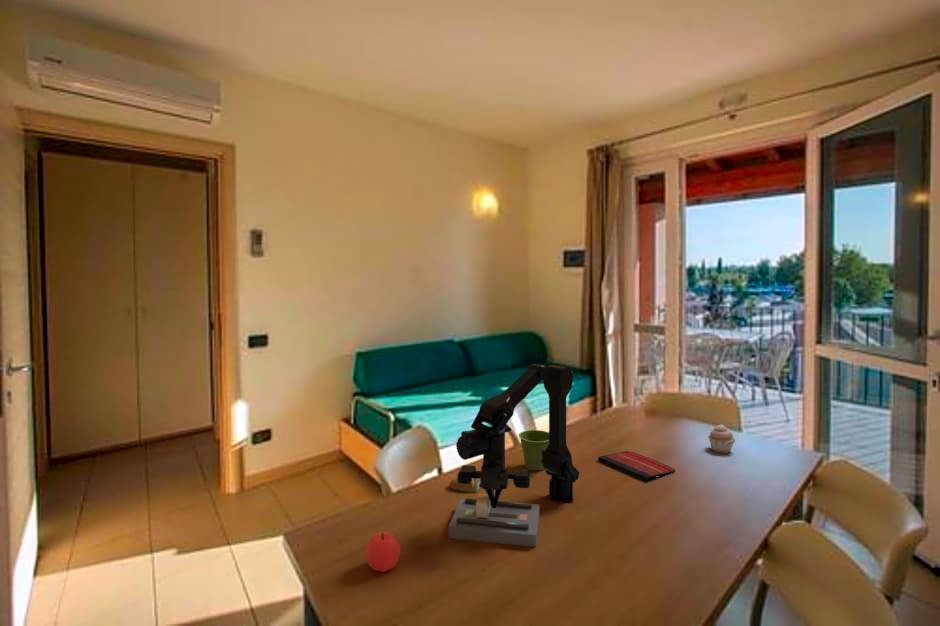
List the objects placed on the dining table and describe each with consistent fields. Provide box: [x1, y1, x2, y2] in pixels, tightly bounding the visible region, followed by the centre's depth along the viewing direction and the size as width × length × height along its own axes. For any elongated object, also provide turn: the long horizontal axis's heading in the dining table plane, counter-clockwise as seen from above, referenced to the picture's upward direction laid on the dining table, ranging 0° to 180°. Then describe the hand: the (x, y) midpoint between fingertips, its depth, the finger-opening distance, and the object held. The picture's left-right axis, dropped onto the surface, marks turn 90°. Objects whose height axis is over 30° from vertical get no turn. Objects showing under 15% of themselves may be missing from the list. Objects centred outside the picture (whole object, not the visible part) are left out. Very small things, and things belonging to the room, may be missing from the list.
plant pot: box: [518, 429, 549, 472], centre depth 167 cm, size 12×12×11 cm
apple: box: [365, 531, 401, 573], centre depth 112 cm, size 8×8×8 cm
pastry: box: [449, 477, 480, 493], centre depth 152 cm, size 9×7×4 cm
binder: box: [597, 450, 676, 483], centre depth 168 cm, size 16×2×21 cm
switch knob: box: [476, 493, 490, 518], centre depth 129 cm, size 3×5×4 cm, turn 169°
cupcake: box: [707, 423, 736, 454], centre depth 181 cm, size 9×9×10 cm
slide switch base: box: [447, 497, 541, 548], centre depth 129 cm, size 22×16×4 cm
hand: (494, 507), depth 129 cm, fingers closed
